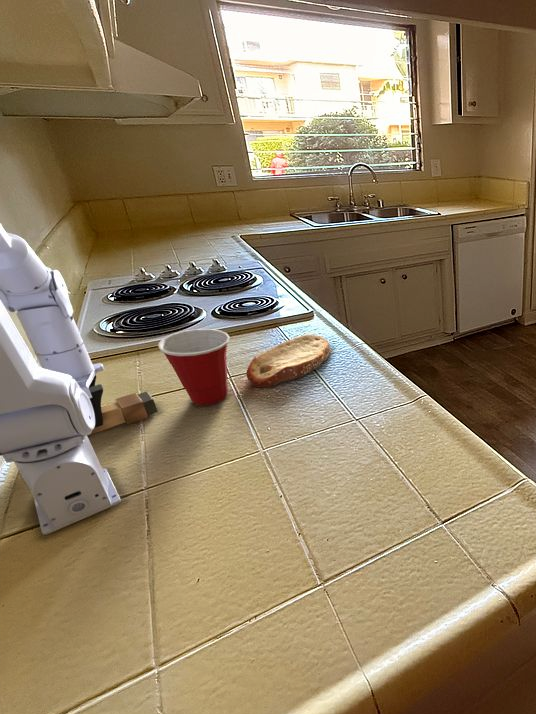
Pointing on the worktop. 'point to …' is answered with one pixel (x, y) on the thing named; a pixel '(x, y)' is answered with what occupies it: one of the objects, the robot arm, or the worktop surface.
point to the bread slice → (288, 361)
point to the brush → (127, 410)
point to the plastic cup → (199, 363)
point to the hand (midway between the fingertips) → (92, 422)
